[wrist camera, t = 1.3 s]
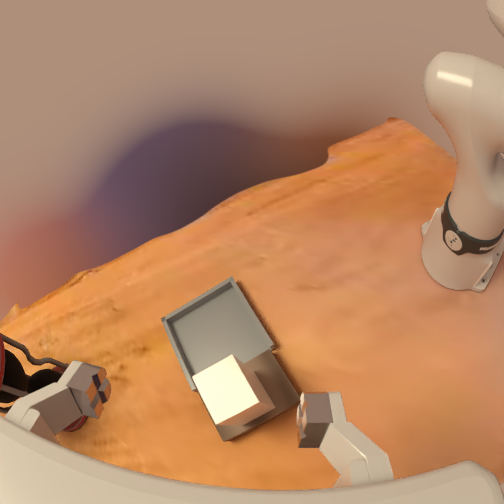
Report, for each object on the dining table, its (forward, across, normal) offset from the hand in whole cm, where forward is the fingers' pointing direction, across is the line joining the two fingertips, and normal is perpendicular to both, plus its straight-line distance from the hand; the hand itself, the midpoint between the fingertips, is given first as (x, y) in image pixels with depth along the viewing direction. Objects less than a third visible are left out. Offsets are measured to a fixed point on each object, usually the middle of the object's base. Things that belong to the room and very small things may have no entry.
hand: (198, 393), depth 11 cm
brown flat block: (+26, -2, +30) cm, 40 cm away
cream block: (+24, -2, +28) cm, 37 cm away
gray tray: (+36, +4, +25) cm, 44 cm away
